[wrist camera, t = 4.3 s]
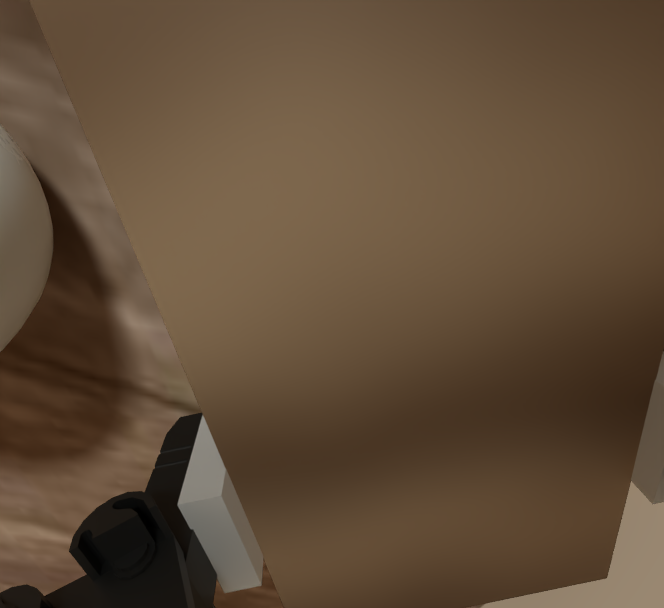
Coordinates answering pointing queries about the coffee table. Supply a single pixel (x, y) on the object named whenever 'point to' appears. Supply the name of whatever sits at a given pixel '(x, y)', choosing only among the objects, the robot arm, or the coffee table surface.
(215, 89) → the board
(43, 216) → the lidded jar
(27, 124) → the coffee table surface
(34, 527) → the coffee table surface
